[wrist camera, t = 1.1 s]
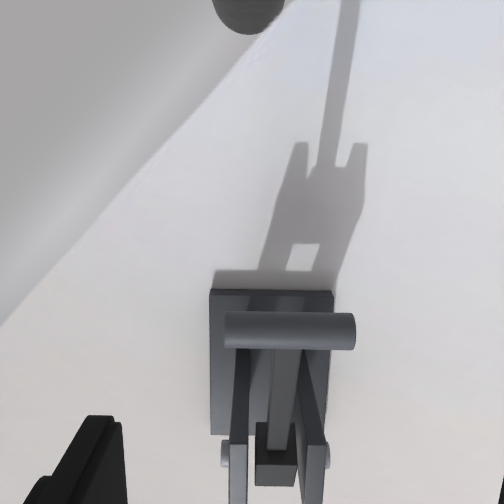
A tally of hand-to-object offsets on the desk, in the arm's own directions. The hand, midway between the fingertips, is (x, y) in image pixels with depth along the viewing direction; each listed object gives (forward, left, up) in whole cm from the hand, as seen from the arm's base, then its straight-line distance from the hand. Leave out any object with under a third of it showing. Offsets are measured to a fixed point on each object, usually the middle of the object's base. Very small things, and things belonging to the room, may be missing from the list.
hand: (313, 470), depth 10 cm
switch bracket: (+9, -5, -22) cm, 24 cm away
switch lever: (+4, -2, -11) cm, 12 cm away
